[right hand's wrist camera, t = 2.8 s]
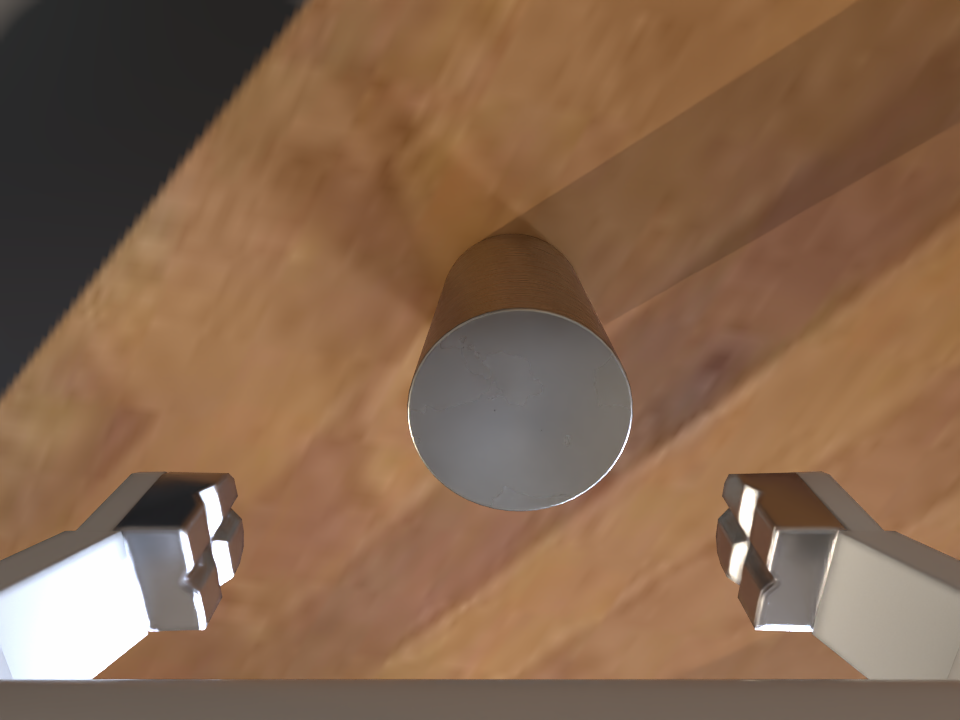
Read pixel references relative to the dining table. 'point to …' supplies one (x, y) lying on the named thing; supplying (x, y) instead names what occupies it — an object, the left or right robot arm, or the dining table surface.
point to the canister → (518, 381)
